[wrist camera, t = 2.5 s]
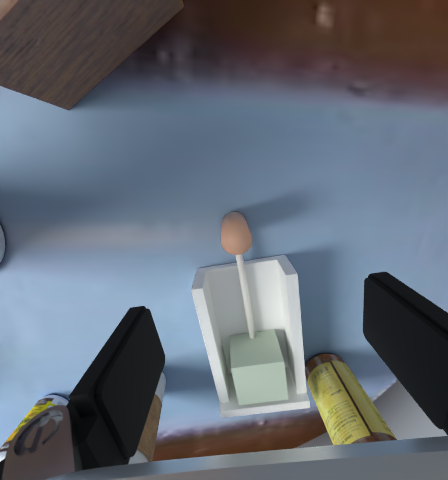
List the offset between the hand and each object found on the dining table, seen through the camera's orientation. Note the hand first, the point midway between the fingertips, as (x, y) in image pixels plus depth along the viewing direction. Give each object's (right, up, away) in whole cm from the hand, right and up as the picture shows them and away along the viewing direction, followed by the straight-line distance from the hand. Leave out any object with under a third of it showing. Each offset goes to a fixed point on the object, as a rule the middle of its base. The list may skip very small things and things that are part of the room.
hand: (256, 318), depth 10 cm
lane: (+2, -8, +20) cm, 22 cm away
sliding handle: (+1, -4, +19) cm, 19 cm away
